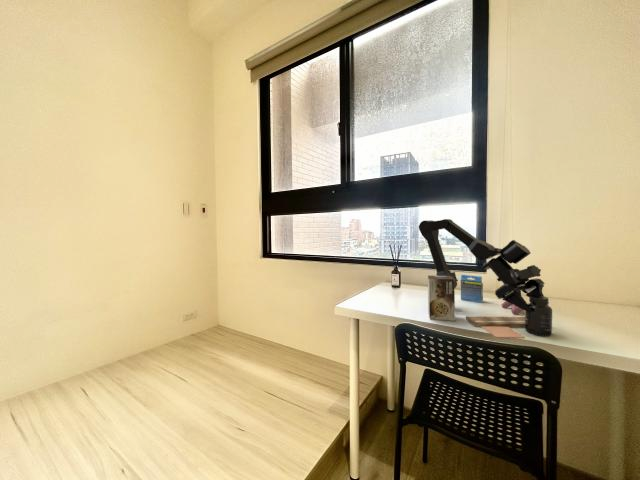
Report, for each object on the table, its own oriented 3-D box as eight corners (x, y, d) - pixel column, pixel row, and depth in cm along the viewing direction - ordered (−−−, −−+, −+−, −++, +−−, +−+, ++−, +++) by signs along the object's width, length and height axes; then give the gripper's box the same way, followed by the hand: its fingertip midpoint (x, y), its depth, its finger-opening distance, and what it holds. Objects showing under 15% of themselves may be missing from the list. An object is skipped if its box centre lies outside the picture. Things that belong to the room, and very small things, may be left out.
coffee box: (452, 315, 103) (452, 275, 102) (455, 321, 97) (455, 278, 96) (427, 313, 106) (427, 274, 105) (428, 319, 100) (428, 277, 99)
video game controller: (523, 319, 102) (532, 303, 101) (511, 313, 103) (520, 298, 102) (510, 310, 112) (518, 296, 111) (499, 305, 112) (507, 291, 111)
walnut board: (474, 326, 92) (474, 322, 92) (465, 319, 99) (465, 316, 99) (547, 327, 89) (547, 323, 89) (533, 320, 96) (533, 316, 96)
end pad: (496, 337, 83) (496, 336, 83) (481, 327, 91) (481, 326, 91) (524, 337, 82) (524, 337, 82) (507, 327, 90) (507, 326, 90)
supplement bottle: (519, 329, 89) (520, 294, 88) (538, 328, 89) (538, 293, 88) (538, 337, 82) (538, 300, 81) (557, 336, 82) (558, 299, 82)
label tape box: (483, 301, 121) (483, 275, 121) (481, 303, 118) (481, 276, 118) (462, 298, 127) (462, 273, 127) (460, 300, 124) (460, 274, 123)
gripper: (504, 259, 85) (543, 301, 76) (538, 256, 92) (577, 293, 83) (481, 279, 93) (514, 319, 83) (514, 274, 100) (548, 310, 90)
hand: (539, 310), depth 85 cm, fingers open, 9 cm apart
